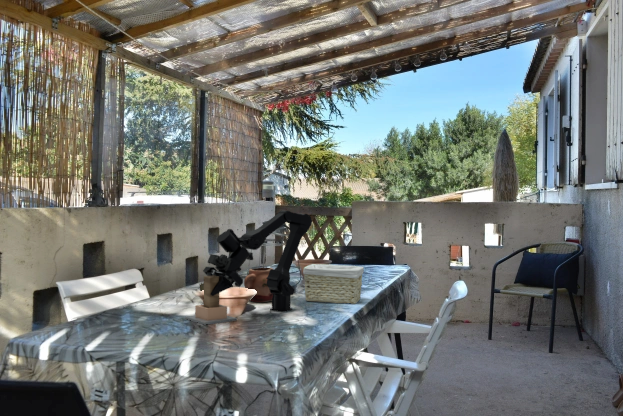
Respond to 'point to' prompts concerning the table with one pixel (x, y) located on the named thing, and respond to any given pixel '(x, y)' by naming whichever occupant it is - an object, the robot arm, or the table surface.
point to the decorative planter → (259, 284)
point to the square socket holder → (210, 315)
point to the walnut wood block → (208, 287)
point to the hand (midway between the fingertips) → (208, 294)
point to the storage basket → (333, 283)
